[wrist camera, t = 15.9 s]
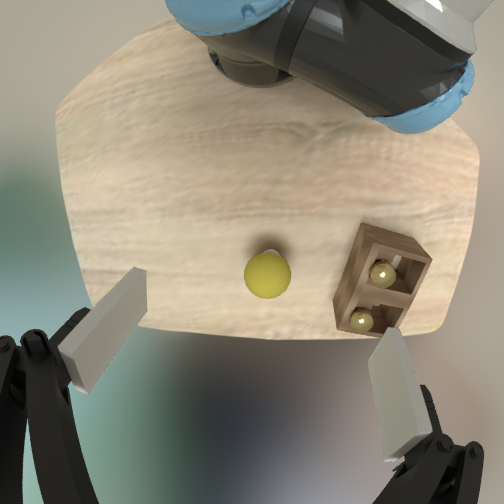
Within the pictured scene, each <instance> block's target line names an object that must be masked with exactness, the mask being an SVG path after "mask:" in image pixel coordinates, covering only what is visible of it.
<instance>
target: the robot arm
mask: <svg viewBox="0 0 504 504" xmlns="http://www.w3.org/2000/svg"><path fill="white" fill-rule="evenodd" d="M493 1H494V0H165V2H166V5H167V8H168V10H169V11H170V13H171V14H172V15H173V16H174V17H175V19H176V20H177V22H178V23H179V24H180V25H181V26H182V27H183V28H184V29H185V30H188V31H190V32H191V33H193V34H194V35H196V36H197V37H198V38H200V39H201V40H202V41H203V42H205V43H206V44H207V46H208V52H209V55H210V58H211V60H212V61H213V63H214V65H215V66H216V67H217V69H218V70H219V71H220V72H221V73H223V74H224V75H225V76H227V77H228V78H229V79H231V80H233V81H234V82H237V83H239V84H241V85H245V86H249V87H255V88H268V87H274V86H278V85H281V84H284V83H287V82H289V81H290V80H292V79H294V78H295V77H298V78H300V79H302V80H304V81H306V82H308V83H310V84H312V85H314V86H316V87H318V88H320V89H322V90H324V91H326V92H328V93H330V94H332V95H333V96H335V97H337V98H339V99H341V100H342V101H344V102H346V103H348V104H349V105H351V106H353V107H354V108H356V109H358V110H359V111H361V113H362V114H363V115H365V116H366V117H368V118H371V119H372V120H376V121H378V122H380V123H382V124H384V125H385V126H387V127H388V128H390V129H392V130H393V131H395V132H398V133H402V134H418V133H422V132H425V131H428V130H430V129H432V128H434V127H436V126H437V125H439V124H441V123H442V122H443V121H445V120H446V119H447V118H449V117H450V116H451V115H452V114H453V113H454V112H455V111H456V110H457V109H458V108H459V106H460V105H461V104H462V101H461V98H462V97H464V96H466V95H468V94H469V92H470V90H471V88H472V85H473V82H474V75H475V73H474V67H473V64H472V62H471V60H470V57H471V55H473V54H474V53H475V51H476V50H477V46H476V41H475V35H474V30H473V27H474V22H475V21H476V20H477V19H478V18H479V17H480V15H481V14H482V13H483V12H484V11H485V10H486V9H487V8H488V7H489V5H490V4H491V3H492V2H493ZM146 312H147V286H146V270H143V269H139V268H136V267H133V268H132V269H131V270H130V271H129V272H128V273H127V274H126V275H125V276H124V277H123V278H122V279H121V280H120V281H119V282H118V283H117V284H116V285H115V286H114V287H113V288H112V289H111V290H110V291H109V292H108V293H107V294H106V295H105V296H104V297H103V298H102V299H101V300H100V301H99V302H98V303H97V305H96V306H95V307H94V308H93V309H92V310H90V309H88V308H86V307H84V308H82V309H81V310H79V311H77V312H75V313H74V314H73V315H72V316H71V317H70V319H69V320H68V321H66V323H65V324H64V325H63V326H62V327H61V328H60V329H59V330H58V331H57V332H56V333H55V334H54V335H53V336H52V337H51V338H50V339H49V340H48V338H47V335H46V334H45V333H44V331H42V330H39V329H33V330H29V331H27V332H26V333H24V334H23V336H22V337H21V340H20V343H21V345H22V347H21V346H17V345H16V343H15V341H14V339H13V338H12V337H10V336H1V337H0V504H23V492H22V478H23V454H24V442H25V433H26V425H27V418H28V425H29V433H30V441H31V447H32V454H33V459H34V465H35V470H36V474H37V478H38V483H39V487H40V491H41V495H42V498H43V502H44V504H99V502H98V500H97V497H96V495H95V492H94V489H93V486H92V484H91V480H90V477H89V474H88V471H87V468H86V464H85V461H84V458H83V454H82V451H81V446H80V443H79V439H78V435H77V430H76V425H75V421H74V417H73V410H72V405H71V399H70V393H69V388H68V384H69V383H70V382H71V381H72V383H73V385H74V388H75V389H77V390H79V391H81V392H83V393H85V394H87V395H89V393H90V392H91V390H92V388H93V387H94V385H95V384H96V382H97V381H98V380H99V378H100V377H101V375H102V374H103V372H104V371H105V369H106V368H107V366H108V365H109V364H110V362H111V361H112V359H113V358H114V356H115V355H116V354H117V352H118V351H119V349H120V348H121V347H122V345H123V344H124V342H125V341H126V339H127V338H128V337H129V335H130V334H131V333H132V331H133V330H134V328H135V327H136V326H137V324H138V323H139V322H140V320H141V319H142V317H143V316H144V315H145V313H146ZM368 367H369V373H370V378H371V383H372V388H373V394H374V400H375V406H376V412H377V419H378V426H379V433H380V441H381V448H382V458H383V462H384V461H397V460H398V459H400V458H401V457H402V456H404V457H405V461H404V462H403V463H401V464H400V465H399V466H397V467H396V468H394V469H393V470H392V471H393V472H394V471H396V470H397V469H398V470H397V471H396V473H395V474H394V475H393V477H392V478H391V480H390V481H389V483H388V484H387V485H386V487H385V488H384V489H383V491H382V492H381V493H380V495H379V496H378V497H377V498H376V500H375V501H374V502H373V503H372V504H477V502H478V497H479V491H480V485H481V477H482V470H483V460H484V450H483V448H482V446H481V445H480V444H479V443H478V442H475V441H472V442H470V443H468V444H467V445H466V446H465V447H464V446H459V445H455V444H454V443H453V441H452V439H451V438H450V437H449V436H448V435H446V434H443V433H442V430H441V426H440V423H439V419H438V416H437V413H436V410H435V406H434V403H433V400H432V397H431V393H430V392H429V390H428V389H427V387H426V386H425V385H419V382H418V379H417V376H416V373H415V370H414V367H413V364H412V361H411V358H410V355H409V352H408V350H407V347H406V345H405V342H404V339H403V336H402V334H401V331H400V329H397V328H391V327H388V328H387V330H386V332H385V333H384V335H383V337H382V339H381V340H380V342H379V344H378V346H377V347H376V349H375V350H374V352H373V354H372V355H371V357H370V359H369V360H368ZM454 480H455V481H454Z"/></svg>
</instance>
